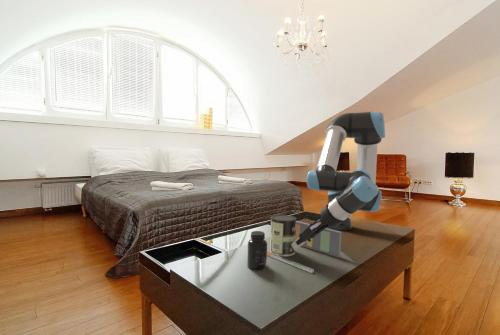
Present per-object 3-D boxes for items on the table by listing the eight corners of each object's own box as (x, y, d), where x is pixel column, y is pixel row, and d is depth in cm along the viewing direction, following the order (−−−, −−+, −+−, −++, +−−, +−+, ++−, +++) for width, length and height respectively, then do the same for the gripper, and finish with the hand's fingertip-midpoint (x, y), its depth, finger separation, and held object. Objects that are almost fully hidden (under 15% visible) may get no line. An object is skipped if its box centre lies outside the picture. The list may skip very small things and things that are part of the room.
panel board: (286, 240, 118) (287, 218, 118) (340, 257, 100) (341, 231, 99) (284, 240, 117) (285, 219, 117) (338, 258, 99) (339, 232, 98)
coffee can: (295, 248, 108) (296, 215, 107) (294, 258, 98) (296, 221, 97) (271, 246, 110) (272, 213, 109) (268, 255, 100) (269, 219, 99)
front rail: (257, 250, 105) (257, 247, 105) (313, 272, 86) (314, 269, 86) (255, 251, 104) (255, 248, 104) (311, 273, 85) (312, 270, 85)
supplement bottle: (244, 263, 91) (245, 230, 91) (261, 261, 94) (262, 229, 94) (251, 272, 85) (252, 236, 85) (270, 269, 88) (271, 234, 87)
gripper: (334, 224, 81) (289, 260, 93) (351, 218, 90) (308, 251, 103) (319, 205, 84) (278, 242, 97) (337, 201, 94) (297, 235, 106)
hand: (293, 247), depth 100 cm, fingers closed
